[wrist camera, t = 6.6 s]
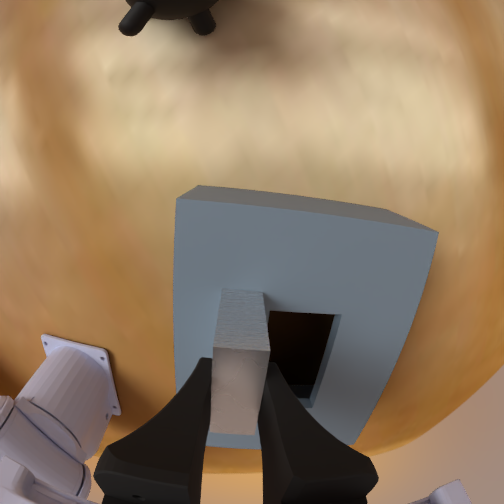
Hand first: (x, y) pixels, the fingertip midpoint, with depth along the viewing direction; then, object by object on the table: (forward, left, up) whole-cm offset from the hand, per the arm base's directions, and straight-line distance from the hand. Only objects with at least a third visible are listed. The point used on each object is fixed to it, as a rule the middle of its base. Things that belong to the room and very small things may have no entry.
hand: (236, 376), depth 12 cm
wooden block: (0, 0, -3) cm, 3 cm away
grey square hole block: (-2, -3, -10) cm, 11 cm away
